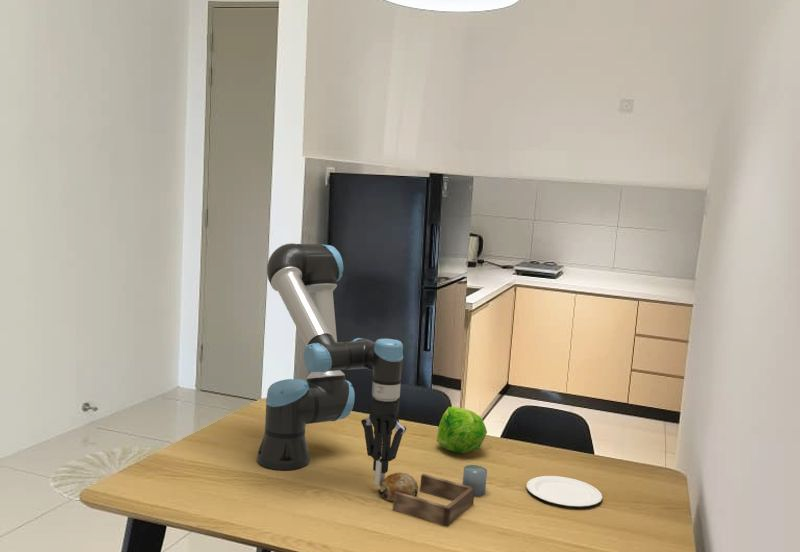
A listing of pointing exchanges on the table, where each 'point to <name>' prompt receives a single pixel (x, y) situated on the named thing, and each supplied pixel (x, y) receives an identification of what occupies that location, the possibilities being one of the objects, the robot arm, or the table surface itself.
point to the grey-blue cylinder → (475, 479)
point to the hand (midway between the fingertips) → (379, 483)
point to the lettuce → (461, 430)
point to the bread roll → (398, 486)
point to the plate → (564, 491)
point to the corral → (432, 510)
